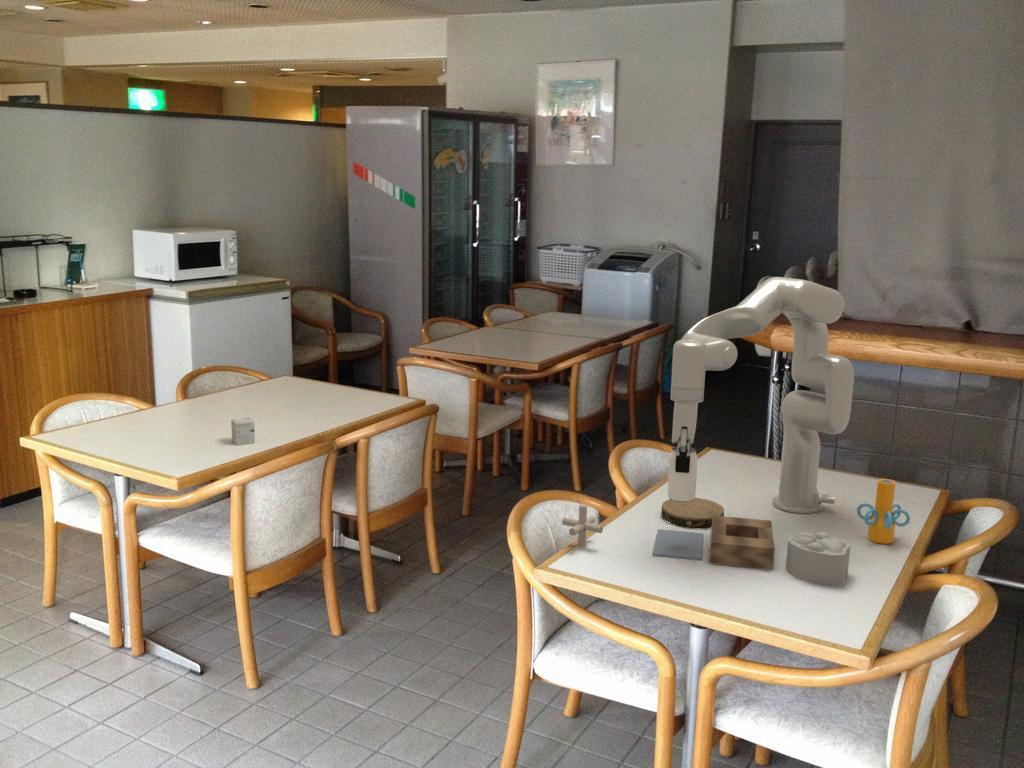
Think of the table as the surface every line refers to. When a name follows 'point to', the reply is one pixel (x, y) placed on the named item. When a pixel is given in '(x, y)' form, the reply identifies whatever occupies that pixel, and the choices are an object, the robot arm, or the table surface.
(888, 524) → the cylinder
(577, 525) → the pipe connector
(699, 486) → the table surface
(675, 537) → the rubber mat
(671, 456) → the can
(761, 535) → the housing block
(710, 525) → the wooden disc
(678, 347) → the robot arm
